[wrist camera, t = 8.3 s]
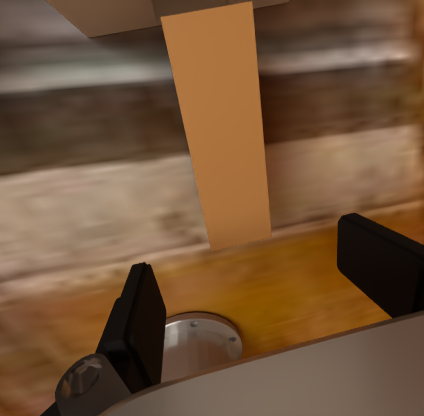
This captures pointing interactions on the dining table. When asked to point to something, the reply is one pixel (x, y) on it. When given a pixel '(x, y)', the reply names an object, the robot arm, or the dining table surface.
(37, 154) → the dining table surface
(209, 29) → the orange rectangular block
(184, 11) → the beige rectangular block
